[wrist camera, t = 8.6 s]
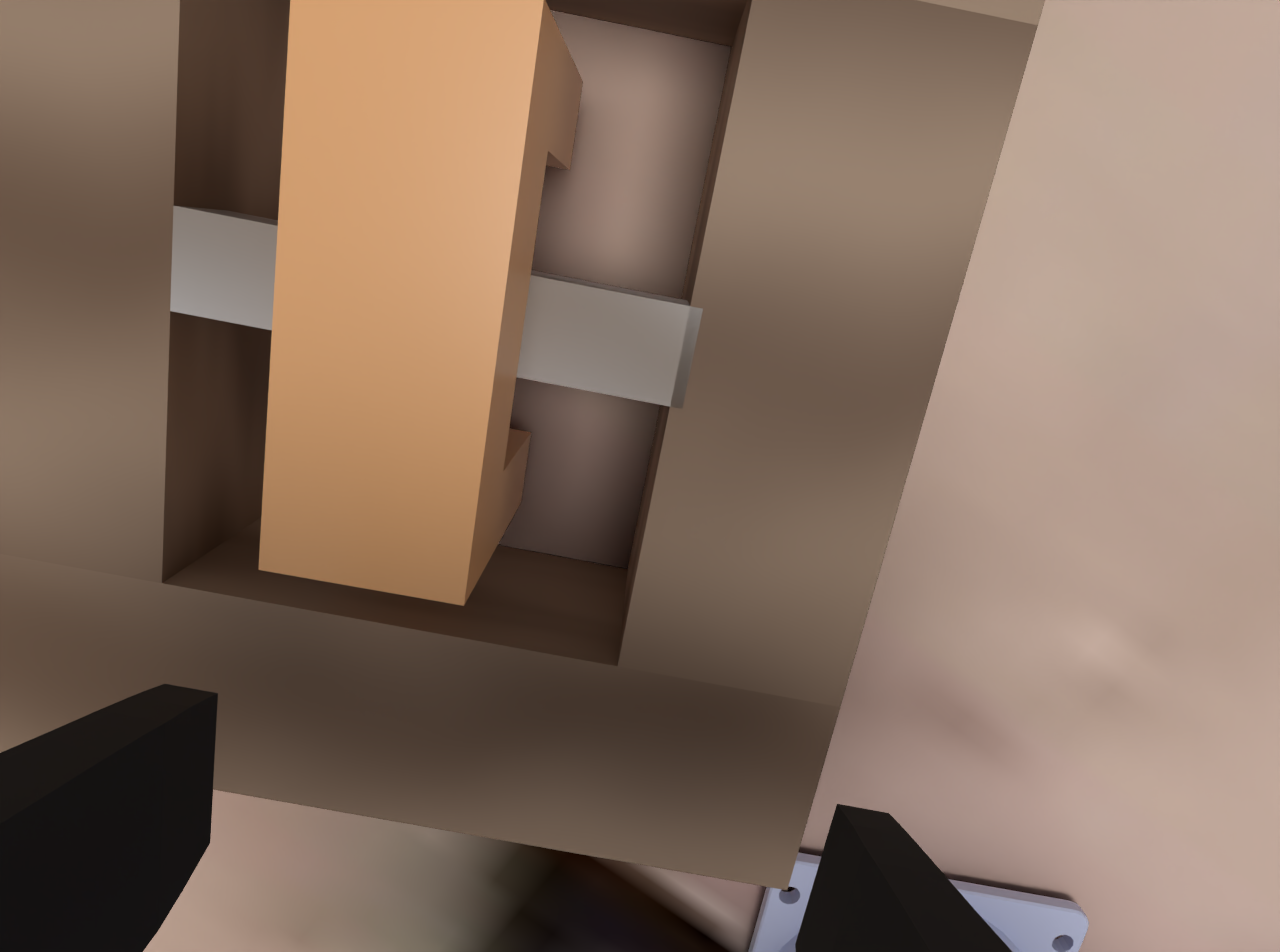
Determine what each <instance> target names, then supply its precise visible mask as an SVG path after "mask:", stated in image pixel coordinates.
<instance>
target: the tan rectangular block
mask: <svg viewBox="0 0 1280 952" xmlns="http://www.w3.org/2000/svg"><path fill="white" fill-rule="evenodd" d="M582 84H583V81H582V79H581V77H580V74H579V72H578V70H577V68H576V66H575V64H574V61H573V59H572V57H571V55H570V53H569V51H568V48H567V46H566V44H565V42H564V40H563V37H562V35H561V33H560V31H559V29H558V27H557V24H556V22H555V20H554V18H553V16H552V14H551V11H550V9H549V7H548V5H547V3H546V0H290V15H289V33H288V51H287V69H286V87H285V105H284V122H283V140H282V158H281V176H280V194H279V212H278V230H277V247H276V265H275V283H274V301H273V319H272V337H271V354H270V372H269V390H268V408H267V426H266V444H265V462H264V479H263V497H262V515H261V533H260V551H259V569H258V570H263V571H268V572H274V573H280V574H285V575H291V576H297V577H303V578H308V579H314V580H320V581H325V582H331V583H337V584H342V585H348V586H354V587H360V588H365V589H371V590H377V591H382V592H388V593H394V594H400V595H405V596H411V597H417V598H422V599H428V600H434V601H439V602H445V603H451V604H457V605H462V606H464V605H465V603H466V601H467V599H468V598H469V596H470V594H471V592H472V590H473V589H474V587H475V585H476V583H477V581H478V580H479V578H480V576H481V574H482V572H483V570H484V569H485V567H486V565H487V563H488V561H489V560H490V558H491V556H492V554H493V552H494V551H495V549H496V547H497V545H498V543H499V542H500V540H501V538H502V536H503V534H504V533H505V531H506V529H507V527H508V525H509V524H510V522H511V520H512V518H513V516H514V515H515V513H516V511H517V509H518V507H519V505H520V504H521V499H522V493H523V486H524V479H525V472H526V465H527V459H528V452H529V445H530V438H531V432H527V431H521V430H516V429H510V428H509V427H510V420H511V413H512V406H513V398H514V391H515V384H516V377H517V370H518V363H519V355H520V348H521V341H522V334H523V327H524V319H525V312H526V305H527V298H528V291H529V284H530V276H531V269H532V262H533V255H534V248H535V241H536V233H537V226H538V219H539V212H540V205H541V197H542V190H543V183H544V176H545V169H546V166H551V167H557V168H562V169H567V170H570V166H571V159H572V152H573V146H574V139H575V132H576V125H577V118H578V112H579V105H580V98H581V91H582Z"/></svg>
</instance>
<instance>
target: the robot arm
mask: <svg viewBox="0 0 1280 952" xmlns="http://www.w3.org/2000/svg"><path fill="white" fill-rule="evenodd" d="M217 703H218V693H214V692H209V691H203V690H198V689H192V688H187V687H181V686H175V685H170V684H162V685H160V686H157V687H154V688H151V689H149V690H146V691H143V692H141V693H138V694H136V695H133V696H131V697H128V698H126V699H124V700H121V701H119V702H116V703H114V704H112V705H109V706H107V707H105V708H102V709H100V710H98V711H95V712H93V713H91V714H88V715H86V716H84V717H82V718H79V719H77V720H75V721H72V722H70V723H68V724H66V725H63V726H61V727H59V728H56V729H54V730H52V731H50V732H47V733H45V734H43V735H40V736H38V737H36V738H33V739H31V740H29V741H27V742H24V743H22V744H20V745H17V746H15V747H13V748H10V749H8V750H6V751H3V752H1V753H0V952H143V950H144V949H145V948H146V946H147V945H148V944H149V942H150V941H151V940H152V938H153V937H154V935H155V934H156V933H157V931H158V930H159V928H160V927H161V925H162V923H163V922H164V920H165V918H166V917H167V915H168V913H169V912H170V910H171V909H172V907H173V905H174V904H175V902H176V900H177V899H178V897H179V895H180V894H181V892H182V891H183V889H184V887H185V885H186V884H187V882H188V880H189V878H190V877H191V875H192V873H193V871H194V870H195V868H196V866H197V864H198V863H199V861H200V859H201V857H202V856H203V854H204V852H205V851H206V849H207V847H208V845H209V844H210V833H211V815H212V796H213V777H214V759H215V740H216V721H217ZM788 887H794V888H795V889H794V890H792V891H791V892H784V891H781V890H782V889H777V888H771V887H766V890H765V894H764V897H763V901H762V905H761V908H760V912H759V915H758V919H757V922H756V926H755V930H754V933H753V937H752V940H751V944H750V947H749V951H748V952H1078V951H1079V949H1080V947H1081V944H1082V942H1083V939H1084V937H1085V935H1086V932H1087V930H1088V925H1089V922H1088V919H1087V917H1086V915H1085V913H1084V912H1083V910H1082V909H1081V907H1080V906H1079V905H1078V904H1076V903H1075V902H1072V901H1069V900H1063V899H1058V898H1052V897H1047V896H1041V895H1035V894H1030V893H1024V892H1018V891H1013V890H1007V889H1001V888H996V887H990V886H984V885H979V884H973V883H968V882H962V881H956V880H951V879H948V878H947V877H946V876H945V875H944V874H943V873H942V872H941V870H940V869H939V868H938V867H937V866H936V865H935V864H934V862H933V861H932V860H931V859H930V858H929V857H928V856H927V854H926V853H925V852H924V851H923V850H922V849H921V848H920V847H919V845H918V844H917V843H916V842H915V841H914V840H913V839H912V838H911V836H910V835H909V834H908V833H907V832H906V831H905V830H904V829H903V828H902V827H901V825H900V824H899V823H898V822H897V821H896V820H895V819H894V818H893V817H892V816H891V815H890V814H889V813H884V812H879V811H873V810H868V809H862V808H857V807H851V806H845V805H840V804H837V806H836V810H835V813H834V816H833V820H832V823H831V826H830V830H829V833H828V836H827V840H826V843H825V846H824V850H823V853H822V856H815V855H810V854H804V853H798V855H797V858H796V862H795V865H794V868H793V872H792V875H791V879H790V882H789V886H788ZM1060 935H1063V936H1062V937H1060V938H1058V939H1055V938H1056V937H1058V936H1060Z"/></svg>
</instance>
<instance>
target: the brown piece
mask: <svg viewBox="0 0 1280 952" xmlns="http://www.w3.org/2000/svg"><path fill="white" fill-rule="evenodd" d="M1044 2H1045V0H546V3H547V5H548V7H549V9H551V10H556V11H561V12H566V13H571V14H576V15H581V16H585V17H590V18H595V19H600V20H605V21H610V22H615V23H620V24H625V25H630V26H634V27H639V28H644V29H649V30H654V31H659V32H664V33H669V34H674V35H679V36H683V37H688V38H693V39H698V40H703V41H708V42H713V43H718V44H723V45H728V46H731V51H730V56H729V61H728V66H727V71H726V76H725V81H724V86H723V91H722V96H721V102H720V107H719V112H718V117H717V122H716V127H715V132H714V137H713V142H712V147H711V152H710V157H709V162H708V167H707V172H706V177H705V182H704V187H703V192H702V197H701V202H700V207H699V212H698V217H697V222H696V227H695V232H694V237H693V242H692V247H691V253H690V258H689V263H688V268H687V273H686V278H685V283H684V288H683V293H682V298H681V299H678V298H673V297H668V296H663V295H658V294H652V293H647V292H642V291H637V290H632V289H627V288H622V287H617V286H611V285H606V284H601V283H596V282H591V281H586V280H581V279H576V278H570V277H565V276H560V275H555V274H550V273H545V272H540V271H535V270H531V276H530V284H529V291H528V298H527V305H526V312H525V319H524V327H523V334H522V341H521V348H520V355H519V363H518V370H517V377H518V378H523V379H528V380H533V381H539V382H544V383H549V384H554V385H560V386H565V387H570V388H575V389H580V390H586V391H591V392H596V393H601V394H607V395H612V396H617V397H622V398H627V399H633V400H638V401H643V402H648V403H654V404H659V405H660V409H659V414H658V419H657V424H656V429H655V434H654V439H653V444H652V449H651V454H650V459H649V464H648V469H647V474H646V479H645V484H644V489H643V494H642V499H641V504H640V509H639V514H638V519H637V524H636V529H635V534H634V539H633V544H632V549H631V554H630V560H629V565H628V569H623V568H618V567H613V566H607V565H602V564H597V563H591V562H586V561H580V560H575V559H570V558H564V557H559V556H553V555H548V554H543V553H537V552H532V551H527V550H521V549H516V548H510V547H505V546H500V545H497V547H496V549H495V551H494V552H493V554H492V556H491V558H490V560H489V561H488V563H487V565H486V567H485V569H484V570H483V572H482V574H481V576H480V578H479V580H478V581H477V583H476V585H475V587H474V589H473V590H472V592H471V594H470V596H469V598H468V599H467V601H466V603H465V605H464V606H462V605H457V604H451V603H445V602H439V601H434V600H428V599H422V598H417V597H411V596H405V595H400V594H394V593H388V592H382V591H377V590H371V589H365V588H360V587H354V586H348V585H342V584H337V583H331V582H325V581H320V580H314V579H308V578H303V577H297V576H291V575H285V574H280V573H274V572H268V571H263V570H258V569H259V551H260V533H261V515H262V497H263V479H264V462H265V444H266V426H267V408H268V390H269V372H270V354H271V337H272V319H273V301H274V283H275V265H276V247H277V230H278V212H279V194H280V176H281V158H282V140H283V122H284V105H285V87H286V69H287V51H288V33H289V15H290V0H0V752H3V751H6V750H8V749H10V748H13V747H15V746H17V745H20V744H22V743H24V742H27V741H29V740H31V739H33V738H36V737H38V736H40V735H43V734H45V733H47V732H50V731H52V730H54V729H56V728H59V727H61V726H63V725H66V724H68V723H70V722H72V721H75V720H77V719H79V718H82V717H84V716H86V715H88V714H91V713H93V712H95V711H98V710H100V709H102V708H105V707H107V706H109V705H112V704H114V703H116V702H119V701H121V700H124V699H126V698H128V697H131V696H133V695H136V694H138V693H141V692H143V691H146V690H149V689H151V688H154V687H157V686H160V685H162V684H170V685H175V686H181V687H187V688H192V689H198V690H203V691H209V692H214V693H218V703H217V721H216V740H215V759H214V777H213V789H214V790H219V791H225V792H231V793H236V794H242V795H248V796H254V797H259V798H265V799H271V800H276V801H282V802H288V803H293V804H299V805H305V806H310V807H316V808H322V809H327V810H333V811H339V812H345V813H350V814H356V815H362V816H367V817H373V818H379V819H384V820H390V821H396V822H401V823H407V824H413V825H418V826H424V827H430V828H435V829H441V830H447V831H453V832H458V833H464V834H470V835H475V836H481V837H487V838H492V839H498V840H504V841H509V842H515V843H521V844H526V845H532V846H538V847H543V848H549V849H555V850H561V851H566V852H572V853H578V854H583V855H589V856H595V857H600V858H606V859H612V860H617V861H623V862H629V863H634V864H640V865H646V866H651V867H657V868H663V869H669V870H674V871H680V872H686V873H691V874H697V875H703V876H708V877H714V878H720V879H725V880H731V881H737V882H742V883H748V884H754V885H760V886H765V887H771V888H777V889H782V890H787V889H788V886H789V882H790V879H791V875H792V872H793V868H794V865H795V862H796V858H797V855H798V851H799V848H800V844H801V841H802V837H803V834H804V830H805V827H806V824H807V820H808V817H809V813H810V810H811V806H812V803H813V799H814V796H815V792H816V789H817V786H818V782H819V779H820V775H821V772H822V768H823V765H824V761H825V758H826V755H827V751H828V748H829V744H830V741H831V737H832V734H833V730H834V727H835V723H836V720H837V717H838V713H839V710H840V706H841V703H842V699H843V696H844V692H845V689H846V686H847V682H848V679H849V675H850V672H851V668H852V665H853V661H854V658H855V654H856V651H857V648H858V644H859V641H860V637H861V634H862V630H863V627H864V623H865V620H866V616H867V613H868V610H869V606H870V603H871V599H872V596H873V592H874V589H875V585H876V582H877V579H878V575H879V572H880V568H881V565H882V561H883V558H884V554H885V551H886V547H887V544H888V541H889V537H890V534H891V530H892V527H893V523H894V520H895V516H896V513H897V509H898V506H899V503H900V499H901V496H902V492H903V489H904V485H905V482H906V478H907V475H908V472H909V468H910V465H911V461H912V458H913V454H914V451H915V447H916V444H917V440H918V437H919V434H920V430H921V427H922V423H923V420H924V416H925V413H926V409H927V406H928V402H929V399H930V396H931V392H932V389H933V385H934V382H935V378H936V375H937V371H938V368H939V365H940V361H941V358H942V354H943V351H944V347H945V344H946V340H947V337H948V333H949V330H950V327H951V323H952V320H953V316H954V313H955V309H956V306H957V302H958V299H959V295H960V292H961V289H962V285H963V282H964V278H965V275H966V271H967V268H968V264H969V261H970V258H971V254H972V251H973V247H974V244H975V240H976V237H977V233H978V230H979V226H980V223H981V220H982V216H983V213H984V209H985V206H986V202H987V199H988V195H989V192H990V188H991V185H992V182H993V178H994V175H995V171H996V168H997V164H998V161H999V157H1000V154H1001V151H1002V147H1003V144H1004V140H1005V137H1006V133H1007V130H1008V126H1009V123H1010V119H1011V116H1012V113H1013V109H1014V106H1015V102H1016V99H1017V95H1018V92H1019V88H1020V85H1021V81H1022V78H1023V75H1024V71H1025V68H1026V64H1027V61H1028V57H1029V54H1030V50H1031V47H1032V44H1033V40H1034V37H1035V33H1036V30H1037V26H1038V23H1039V19H1040V16H1041V12H1042V9H1043V6H1044Z"/></svg>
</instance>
